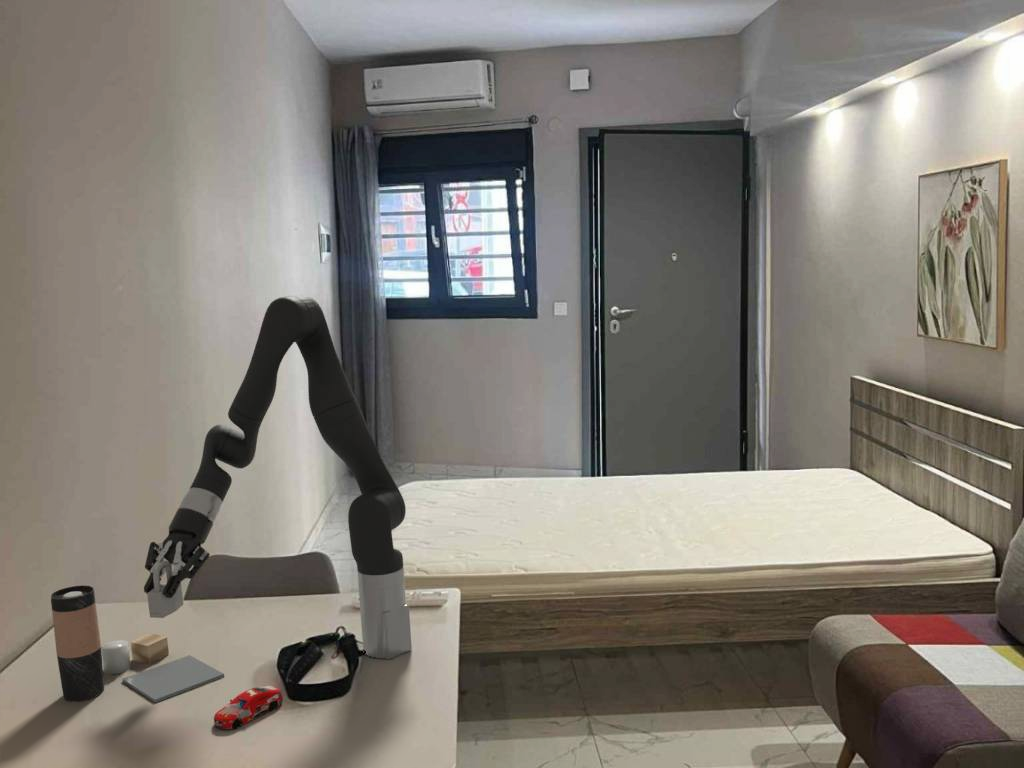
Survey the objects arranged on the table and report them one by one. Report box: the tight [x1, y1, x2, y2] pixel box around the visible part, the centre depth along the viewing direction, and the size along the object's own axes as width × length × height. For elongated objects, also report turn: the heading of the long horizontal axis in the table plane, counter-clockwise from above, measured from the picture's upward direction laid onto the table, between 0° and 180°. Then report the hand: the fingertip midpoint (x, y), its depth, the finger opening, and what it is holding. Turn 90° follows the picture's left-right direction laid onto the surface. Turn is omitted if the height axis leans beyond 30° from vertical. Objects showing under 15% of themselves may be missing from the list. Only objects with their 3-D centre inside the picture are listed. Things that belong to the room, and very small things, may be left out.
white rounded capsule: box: [101, 639, 132, 675], centre depth 195 cm, size 5×5×5 cm
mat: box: [121, 654, 225, 703], centre depth 189 cm, size 14×14×1 cm
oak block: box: [130, 632, 170, 665], centre depth 200 cm, size 5×5×4 cm
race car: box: [213, 685, 284, 730], centre depth 172 cm, size 13×5×4 cm, turn 141°
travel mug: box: [50, 585, 105, 702], centre depth 183 cm, size 8×8×20 cm
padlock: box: [146, 560, 184, 619], centre depth 187 cm, size 7×4×10 cm, turn 167°
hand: (157, 594), depth 185 cm, fingers closed on padlock, 4 cm apart
